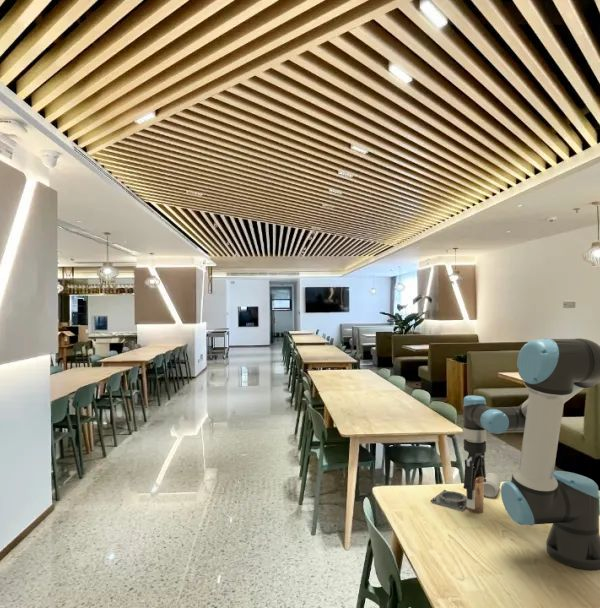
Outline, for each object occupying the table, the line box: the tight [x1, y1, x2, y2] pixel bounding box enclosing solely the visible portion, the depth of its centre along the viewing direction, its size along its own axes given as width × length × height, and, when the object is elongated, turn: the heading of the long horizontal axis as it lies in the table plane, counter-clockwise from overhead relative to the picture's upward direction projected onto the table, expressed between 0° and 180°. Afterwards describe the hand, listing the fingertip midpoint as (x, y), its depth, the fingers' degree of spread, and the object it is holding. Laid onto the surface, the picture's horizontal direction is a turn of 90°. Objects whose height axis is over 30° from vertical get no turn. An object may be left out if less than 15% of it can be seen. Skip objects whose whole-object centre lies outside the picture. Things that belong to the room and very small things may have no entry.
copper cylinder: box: [466, 474, 484, 514], centre depth 165 cm, size 6×6×12 cm
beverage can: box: [484, 472, 502, 499], centre depth 180 cm, size 6×6×12 cm
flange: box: [430, 489, 467, 512], centre depth 172 cm, size 12×12×2 cm
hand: (475, 503), depth 165 cm, fingers open, 8 cm apart
